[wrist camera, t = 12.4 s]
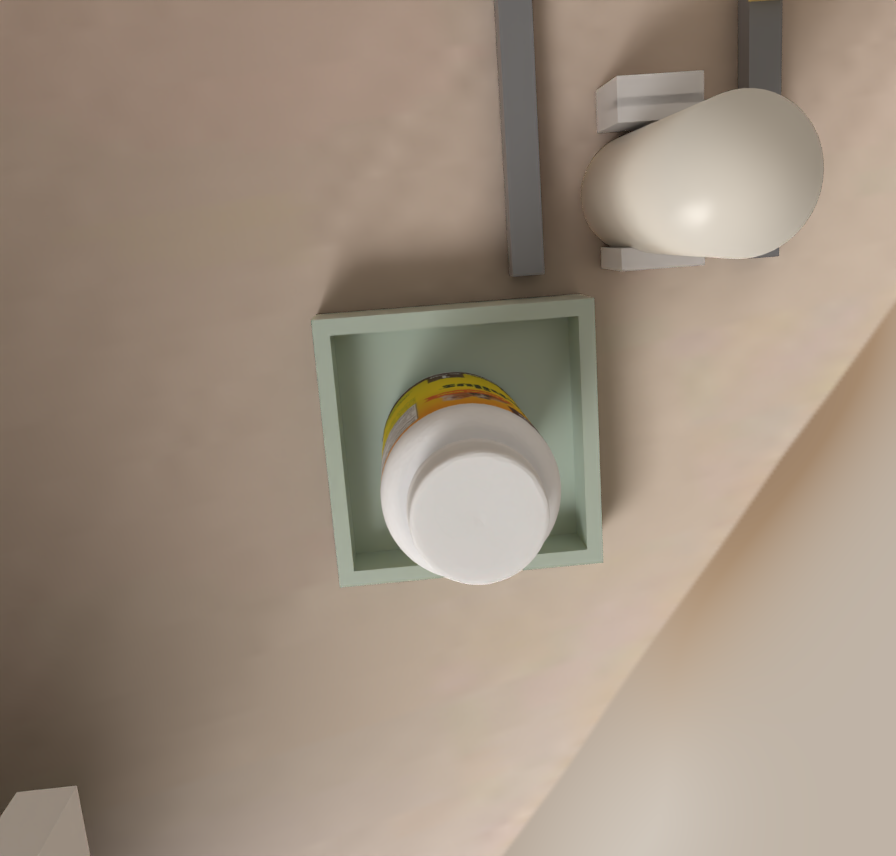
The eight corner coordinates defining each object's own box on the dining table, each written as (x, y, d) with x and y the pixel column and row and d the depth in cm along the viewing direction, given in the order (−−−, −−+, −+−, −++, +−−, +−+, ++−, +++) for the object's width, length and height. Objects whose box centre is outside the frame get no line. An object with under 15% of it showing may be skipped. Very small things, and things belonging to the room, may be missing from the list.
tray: (588, 540, 36) (603, 562, 33) (343, 563, 35) (339, 587, 33) (579, 293, 33) (594, 298, 31) (316, 314, 33) (310, 320, 30)
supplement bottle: (550, 415, 34) (619, 489, 24) (473, 530, 34) (508, 648, 24) (431, 339, 33) (451, 383, 23) (354, 459, 33) (341, 551, 24)
